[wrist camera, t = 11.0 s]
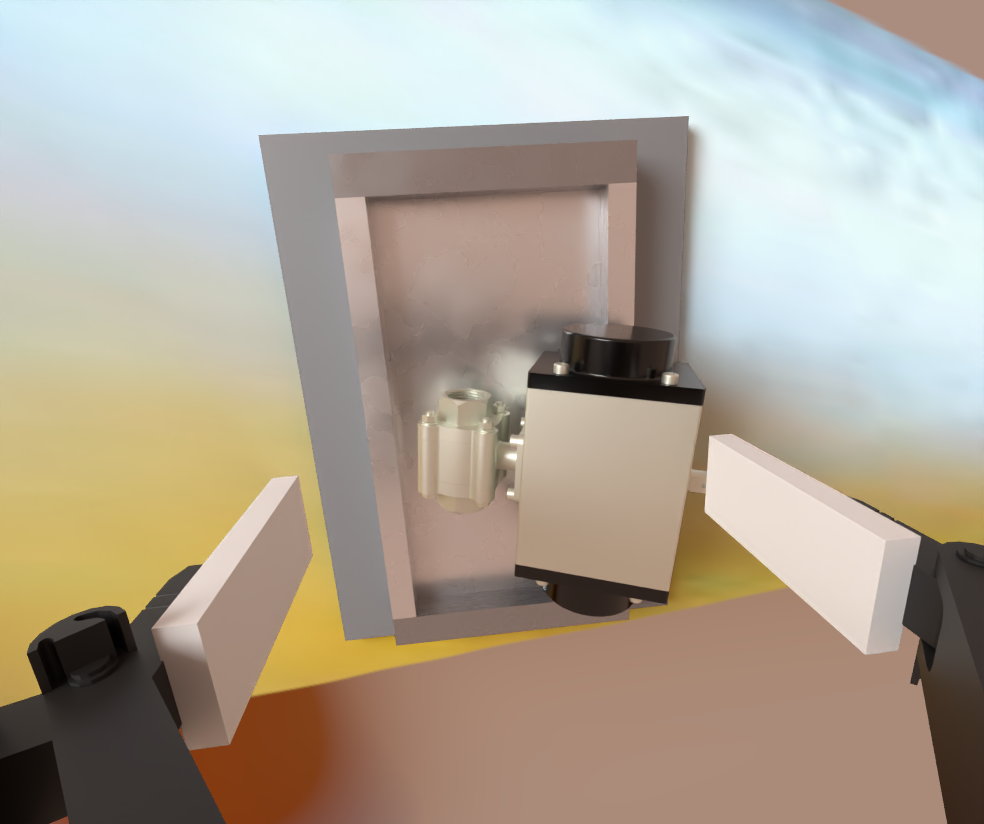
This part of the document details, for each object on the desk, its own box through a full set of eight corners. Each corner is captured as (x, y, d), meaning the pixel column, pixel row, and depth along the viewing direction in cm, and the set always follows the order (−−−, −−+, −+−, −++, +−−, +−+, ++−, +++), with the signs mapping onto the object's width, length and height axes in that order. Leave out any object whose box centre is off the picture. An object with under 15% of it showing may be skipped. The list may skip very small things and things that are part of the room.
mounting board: (348, 628, 29) (345, 640, 28) (266, 141, 22) (258, 135, 21) (660, 594, 31) (667, 604, 30) (678, 122, 23) (688, 116, 22)
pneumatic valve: (409, 584, 22) (690, 640, 20) (407, 323, 19) (750, 350, 16) (448, 523, 27) (675, 561, 25) (452, 309, 24) (717, 328, 21)
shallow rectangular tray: (400, 613, 28) (396, 645, 26) (341, 167, 22) (328, 154, 19) (613, 590, 29) (628, 619, 27) (617, 153, 23) (637, 139, 20)
